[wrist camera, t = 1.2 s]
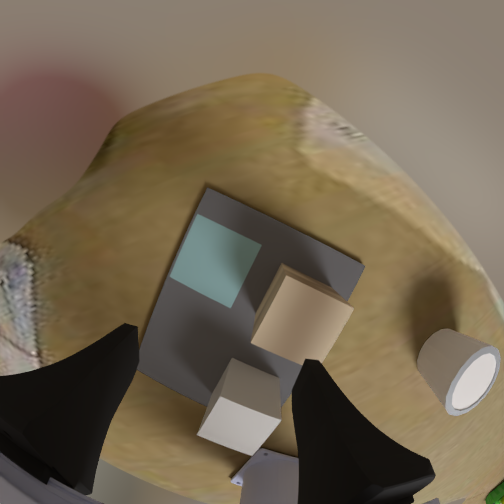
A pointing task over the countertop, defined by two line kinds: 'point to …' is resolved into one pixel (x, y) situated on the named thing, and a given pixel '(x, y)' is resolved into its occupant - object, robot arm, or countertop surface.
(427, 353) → the white tapered cylinder
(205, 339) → the mat
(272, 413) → the grey block
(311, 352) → the maple block
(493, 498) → the fruit basket
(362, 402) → the countertop surface
